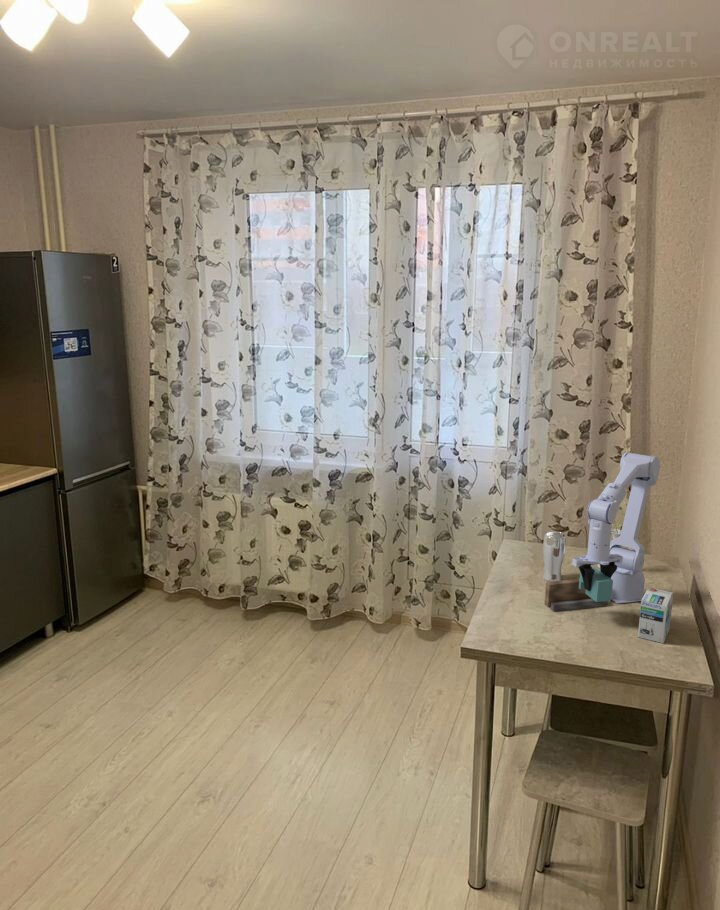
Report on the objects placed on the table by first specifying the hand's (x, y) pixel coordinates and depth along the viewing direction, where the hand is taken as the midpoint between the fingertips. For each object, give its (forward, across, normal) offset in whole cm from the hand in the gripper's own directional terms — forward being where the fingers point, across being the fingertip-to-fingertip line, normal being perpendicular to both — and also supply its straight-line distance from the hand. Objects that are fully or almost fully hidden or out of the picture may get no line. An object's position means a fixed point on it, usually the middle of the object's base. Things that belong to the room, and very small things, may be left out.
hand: (595, 588), depth 193 cm
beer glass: (+9, +3, +28) cm, 30 cm away
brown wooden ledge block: (+9, 0, +9) cm, 12 cm away
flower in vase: (+9, +27, +30) cm, 41 cm away
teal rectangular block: (+2, 0, 0) cm, 2 cm away
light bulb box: (+9, +11, -12) cm, 19 cm away
